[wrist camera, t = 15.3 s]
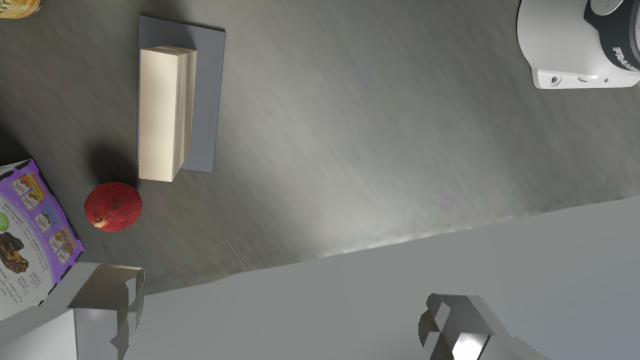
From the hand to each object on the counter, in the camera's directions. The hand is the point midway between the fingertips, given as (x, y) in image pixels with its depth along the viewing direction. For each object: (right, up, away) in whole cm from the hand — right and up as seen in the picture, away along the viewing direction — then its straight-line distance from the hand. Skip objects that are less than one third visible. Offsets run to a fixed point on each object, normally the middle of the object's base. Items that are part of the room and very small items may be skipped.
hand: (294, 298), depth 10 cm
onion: (-24, +2, +36) cm, 43 cm away
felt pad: (-16, +13, +32) cm, 38 cm away
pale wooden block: (-16, +13, +32) cm, 38 cm away
